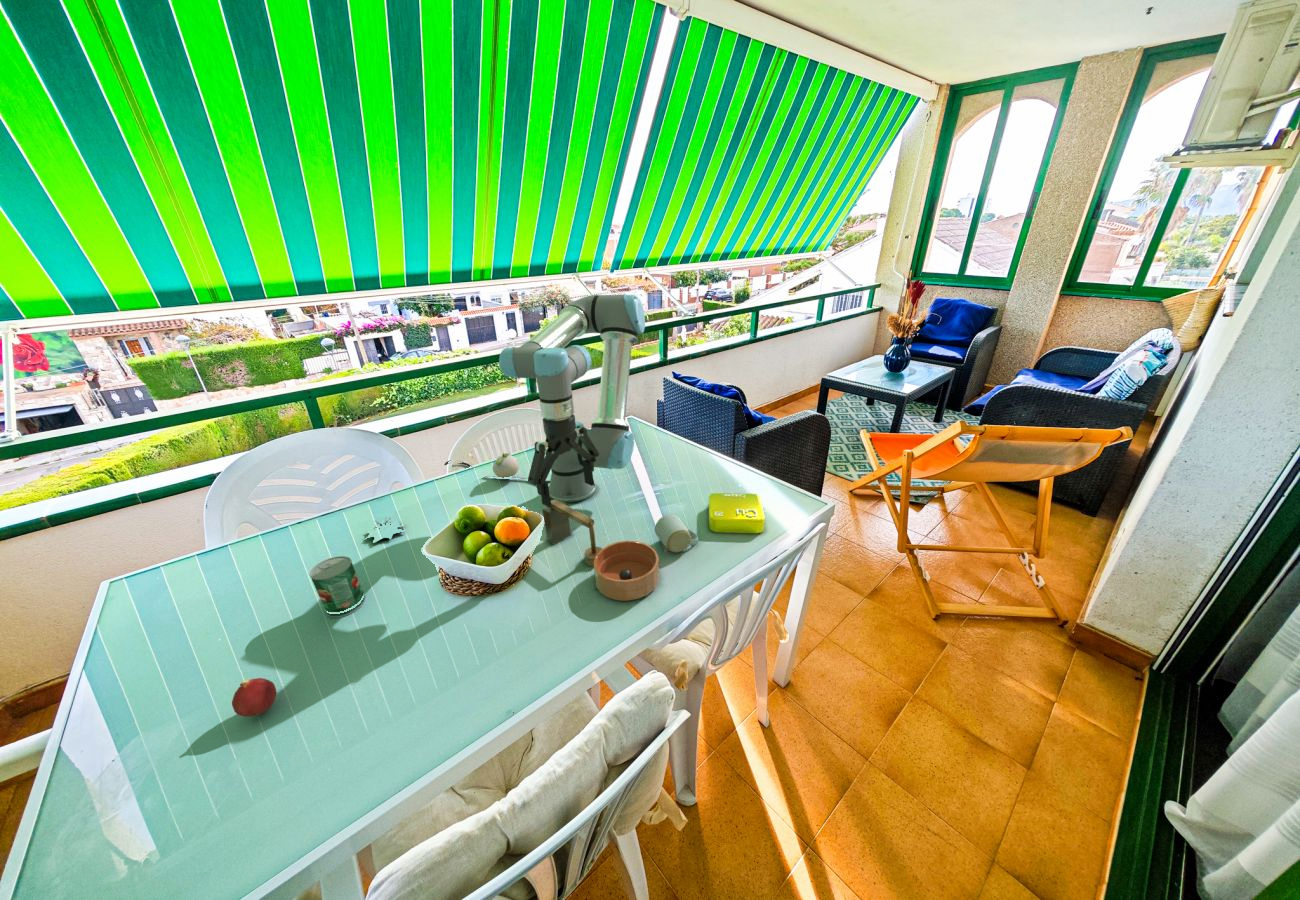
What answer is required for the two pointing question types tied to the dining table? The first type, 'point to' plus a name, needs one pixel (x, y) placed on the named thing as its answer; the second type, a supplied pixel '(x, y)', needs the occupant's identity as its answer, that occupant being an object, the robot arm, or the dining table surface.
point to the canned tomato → (337, 585)
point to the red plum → (254, 697)
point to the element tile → (735, 513)
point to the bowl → (629, 557)
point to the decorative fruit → (505, 465)
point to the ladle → (583, 520)
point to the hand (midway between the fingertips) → (568, 494)
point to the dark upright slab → (556, 525)
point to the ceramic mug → (674, 533)
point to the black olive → (625, 574)
